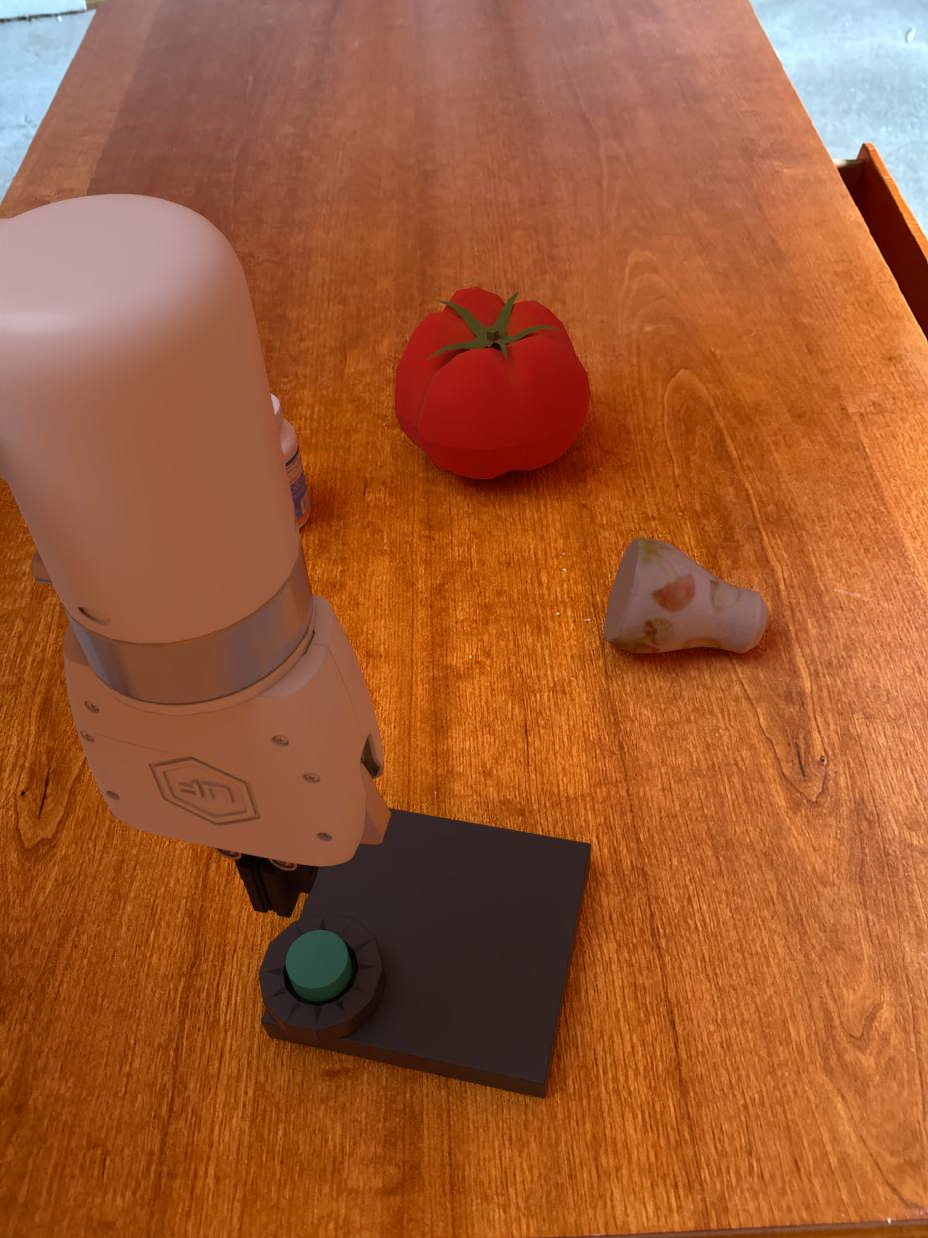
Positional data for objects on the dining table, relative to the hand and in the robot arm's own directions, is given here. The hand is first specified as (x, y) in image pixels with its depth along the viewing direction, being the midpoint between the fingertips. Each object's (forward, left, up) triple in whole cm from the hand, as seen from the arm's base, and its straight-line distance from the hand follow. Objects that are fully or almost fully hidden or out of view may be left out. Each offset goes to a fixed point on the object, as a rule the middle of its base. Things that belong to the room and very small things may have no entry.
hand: (285, 885), depth 50 cm
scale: (+5, +4, -11) cm, 13 cm away
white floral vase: (+15, +28, -11) cm, 33 cm away
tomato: (-1, +44, -11) cm, 45 cm away
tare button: (+1, 0, -8) cm, 8 cm away
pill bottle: (-15, +34, -11) cm, 39 cm away
